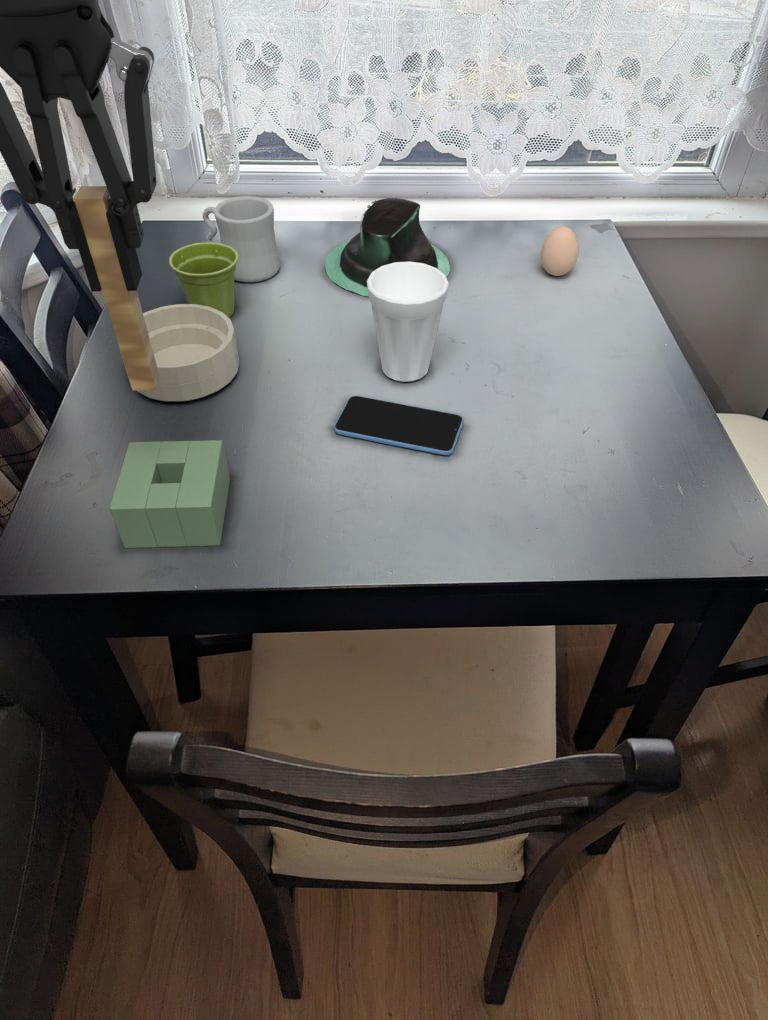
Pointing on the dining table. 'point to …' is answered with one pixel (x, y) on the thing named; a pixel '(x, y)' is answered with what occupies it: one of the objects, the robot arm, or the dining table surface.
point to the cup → (406, 316)
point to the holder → (171, 494)
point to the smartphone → (399, 425)
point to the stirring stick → (117, 289)
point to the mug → (247, 235)
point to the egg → (560, 251)
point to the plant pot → (207, 274)
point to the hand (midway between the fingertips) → (117, 282)
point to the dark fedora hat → (383, 245)
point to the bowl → (190, 351)
